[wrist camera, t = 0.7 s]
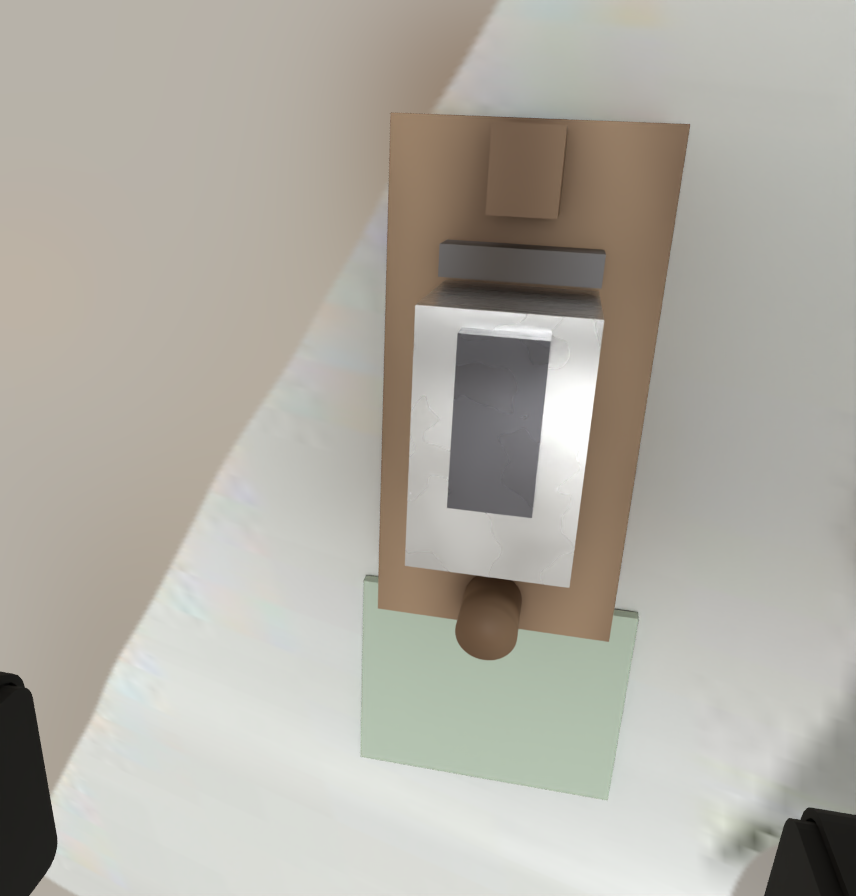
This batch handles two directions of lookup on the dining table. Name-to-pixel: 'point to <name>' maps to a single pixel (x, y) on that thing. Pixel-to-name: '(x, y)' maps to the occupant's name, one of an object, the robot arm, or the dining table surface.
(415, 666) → the mat
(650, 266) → the plane body
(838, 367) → the dining table surface
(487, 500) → the lever cap
